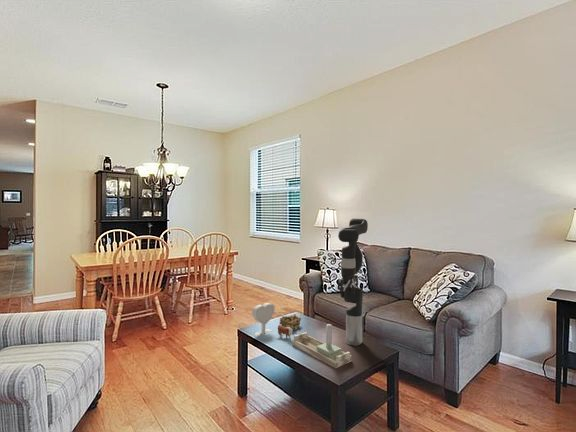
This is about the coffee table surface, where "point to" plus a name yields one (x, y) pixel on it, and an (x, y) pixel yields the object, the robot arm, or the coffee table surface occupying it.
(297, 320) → the mineral formation
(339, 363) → the bay
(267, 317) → the heart sculpture
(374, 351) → the coffee table surface
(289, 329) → the bull figurine
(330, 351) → the green block with post
